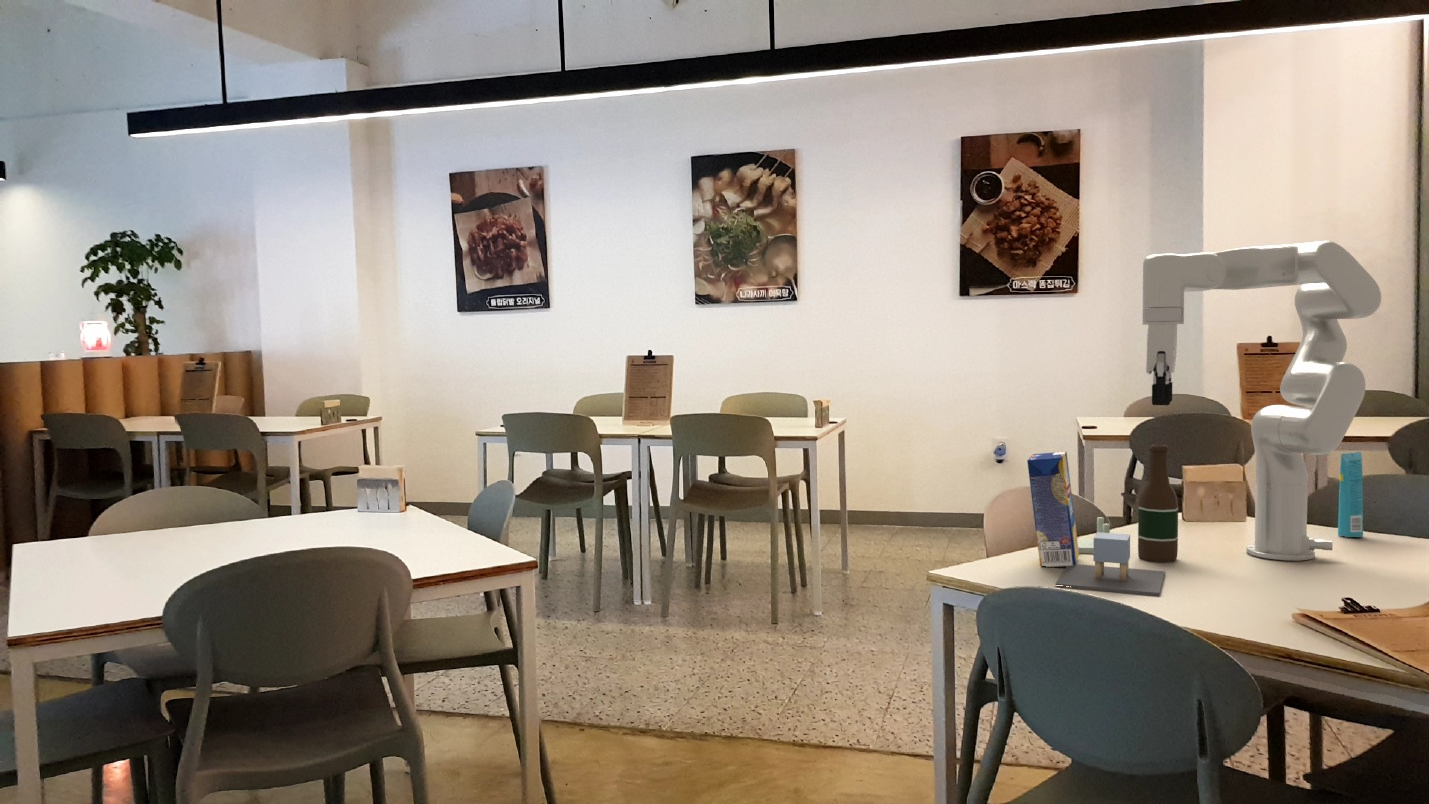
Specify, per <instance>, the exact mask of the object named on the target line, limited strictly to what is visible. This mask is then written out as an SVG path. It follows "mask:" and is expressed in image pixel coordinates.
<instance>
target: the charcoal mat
mask: <svg viewBox="0 0 1429 804" xmlns="http://www.w3.org/2000/svg"><path fill="white" fill-rule="evenodd" d="M1165 573H1166V572H1165V570H1155V569H1154V570H1152V569H1143V568H1142V569H1141V568H1130V567H1128V576H1127V577H1126V582H1122V581H1120V567H1118V566H1117V567H1116V566H1114V567H1113V566H1106V565H1104V574H1102V579H1100V580H1098V579H1095V565H1090V564H1080V563H1078V564H1077V563H1076V565H1075V566H1065V568H1064V570H1063V571H1062V573H1061V574H1060V575H1059V577H1058V579H1057V581H1056V582H1055V585H1063V586H1057V587H1056V588H1066V586H1069V587H1070V586H1071V587H1072V588H1071V589H1075V588H1080V589H1079V590H1088V591H1089V590H1090V591H1099V592H1107V593H1108V592H1111V593H1119V592H1120V593H1121V594H1132V595H1133V594H1134V595H1141V596H1142V595H1144V596H1151V597H1152V596H1155V597H1160V595H1161V591H1162V587H1163V583H1164V579H1165ZM1055 585H1054V586H1055ZM1066 589H1067V588H1066Z"/></svg>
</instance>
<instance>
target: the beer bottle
mask: <svg viewBox="0 0 1429 804" xmlns="http://www.w3.org/2000/svg"><path fill="white" fill-rule="evenodd" d="M1148 451H1150V457H1149V471H1148V479H1147V484H1145V486H1144V488H1143V489H1142V490H1141V493H1140V494H1139V497H1138V507H1137V508H1138V510H1137V511H1138V512H1137V513H1138V514H1137V516H1138V518H1137V519H1138V521H1137V525H1138V526H1137V530H1138V531H1137V555H1138V558H1139V559H1141V560H1144V561H1146V562H1152V563H1160V562H1161V563H1162V564H1163V562H1164V563H1174V562H1175V561H1176V560H1177V558H1178V552H1179V551H1178V550H1179V549H1178V548H1179V546H1178V545H1179V541H1178V540H1179V500H1178V496H1177V493H1176V491H1175V489H1174V488H1173V486H1172V485H1171V484H1170V478H1169V467H1168V466H1169V465H1168V464H1169V463H1168V451H1170V450H1169V446H1168V445H1167V444H1162V443H1161V444H1160V443H1159V444H1157V443H1156V444H1151V445H1150V446H1149V450H1148Z"/></svg>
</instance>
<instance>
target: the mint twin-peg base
mask: <svg viewBox="0 0 1429 804" xmlns="http://www.w3.org/2000/svg"><path fill="white" fill-rule="evenodd" d="M1104 519H1105V518H1104V517H1102V516H1101V517H1100V516H1099V517H1098V516H1097V517H1096V533H1097V532H1101V533H1111V532H1110V531H1111V524H1110V523H1104V521H1105V520H1104ZM1077 542H1078V550H1079V554H1094V538H1078V537H1077Z"/></svg>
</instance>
